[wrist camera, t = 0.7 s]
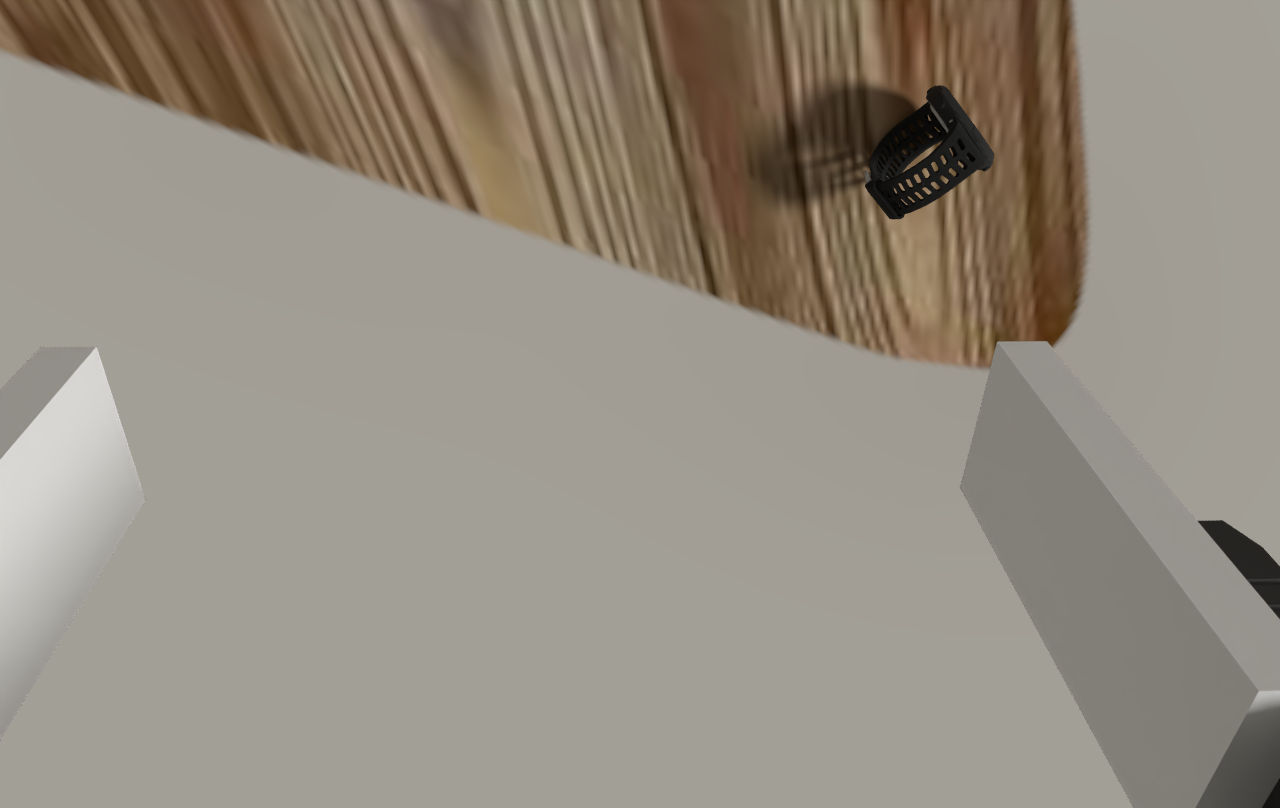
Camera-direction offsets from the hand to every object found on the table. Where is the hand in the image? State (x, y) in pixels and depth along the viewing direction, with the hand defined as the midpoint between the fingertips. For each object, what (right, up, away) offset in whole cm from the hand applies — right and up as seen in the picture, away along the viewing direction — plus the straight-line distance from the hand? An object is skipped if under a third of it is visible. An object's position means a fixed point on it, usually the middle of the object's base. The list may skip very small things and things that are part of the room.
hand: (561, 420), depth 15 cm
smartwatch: (+12, +11, +25) cm, 30 cm away
